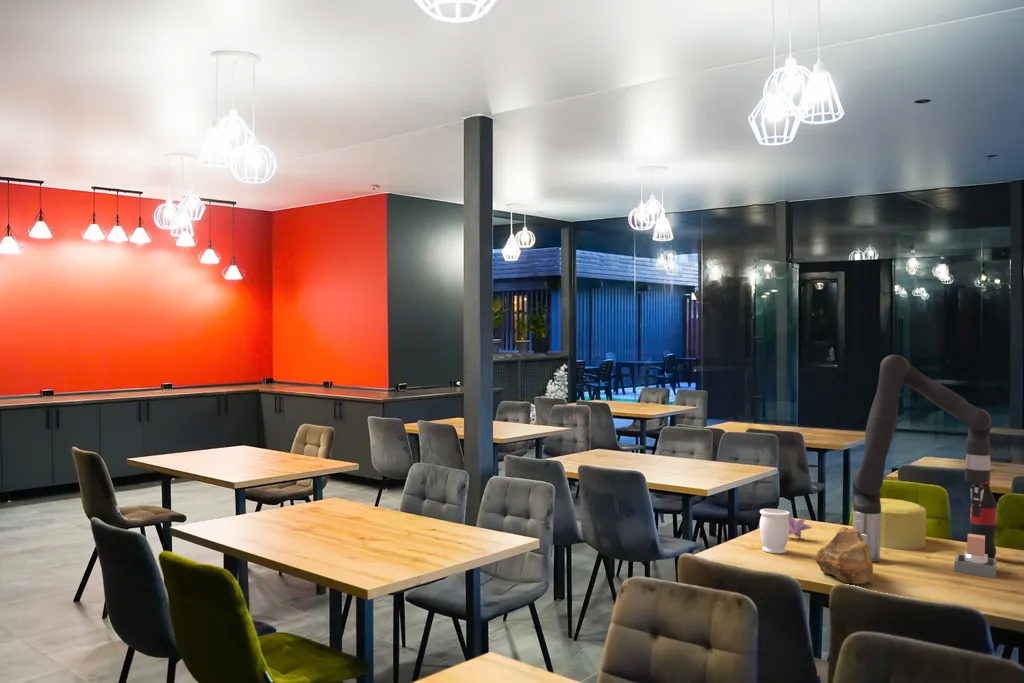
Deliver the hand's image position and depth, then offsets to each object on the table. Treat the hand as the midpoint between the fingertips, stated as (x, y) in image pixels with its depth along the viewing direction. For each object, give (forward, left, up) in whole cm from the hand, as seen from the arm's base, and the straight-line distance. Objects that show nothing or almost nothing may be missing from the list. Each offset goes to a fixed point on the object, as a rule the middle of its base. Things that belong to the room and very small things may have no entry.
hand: (976, 514), depth 274 cm
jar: (-35, +56, -20) cm, 69 cm away
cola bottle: (+23, +8, -20) cm, 32 cm away
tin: (0, 0, -19) cm, 19 cm away
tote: (0, 0, -20) cm, 20 cm away
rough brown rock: (-43, +23, -21) cm, 53 cm away
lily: (-13, +63, -21) cm, 67 cm away
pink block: (0, 0, -13) cm, 13 cm away
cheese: (+18, +41, -21) cm, 49 cm away
